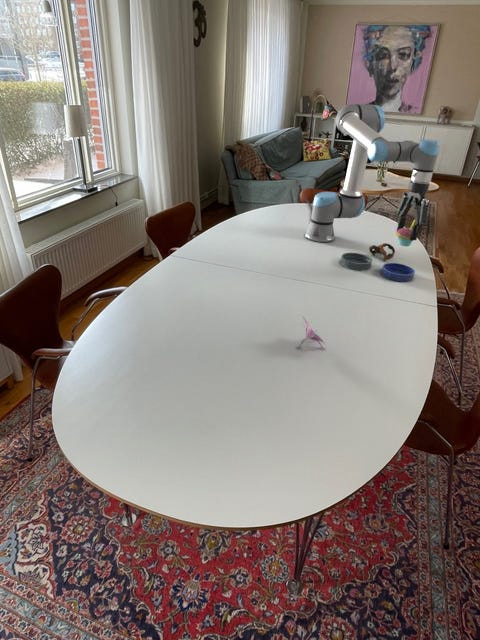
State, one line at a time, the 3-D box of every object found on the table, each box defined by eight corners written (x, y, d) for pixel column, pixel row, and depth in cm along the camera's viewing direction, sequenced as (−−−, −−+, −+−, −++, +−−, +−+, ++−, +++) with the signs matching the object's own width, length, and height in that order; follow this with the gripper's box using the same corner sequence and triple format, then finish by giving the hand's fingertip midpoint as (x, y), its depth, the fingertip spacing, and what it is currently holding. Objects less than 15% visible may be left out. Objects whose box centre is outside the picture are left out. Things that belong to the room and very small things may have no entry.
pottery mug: (386, 254, 215) (395, 244, 209) (387, 269, 210) (397, 258, 203) (364, 248, 213) (373, 236, 206) (365, 262, 208) (374, 251, 201)
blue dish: (374, 270, 196) (376, 264, 194) (399, 268, 200) (401, 261, 198) (393, 283, 184) (395, 276, 183) (419, 280, 189) (421, 273, 187)
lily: (321, 363, 132) (337, 336, 130) (287, 346, 131) (303, 318, 129) (315, 352, 143) (329, 327, 142) (284, 336, 142) (298, 311, 141)
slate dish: (334, 260, 204) (336, 253, 202) (359, 257, 208) (361, 251, 207) (350, 271, 193) (351, 265, 191) (376, 269, 197) (378, 262, 196)
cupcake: (414, 243, 187) (421, 215, 181) (414, 249, 180) (422, 221, 174) (393, 239, 190) (400, 212, 184) (393, 246, 183) (400, 218, 177)
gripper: (395, 176, 179) (383, 229, 191) (430, 188, 162) (415, 245, 173) (410, 175, 182) (397, 228, 193) (446, 188, 165) (430, 244, 176)
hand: (405, 236), depth 183 cm, fingers closed on cupcake, 8 cm apart
